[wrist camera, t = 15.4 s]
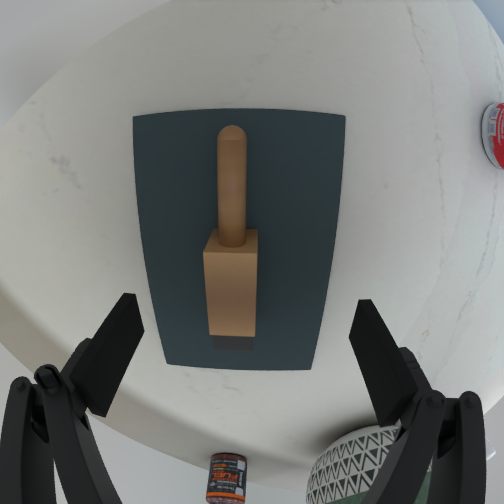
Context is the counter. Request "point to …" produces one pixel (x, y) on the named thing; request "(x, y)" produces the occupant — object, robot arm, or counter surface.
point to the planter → (354, 467)
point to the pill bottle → (494, 133)
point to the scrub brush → (231, 251)
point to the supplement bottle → (227, 479)
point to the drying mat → (257, 217)
